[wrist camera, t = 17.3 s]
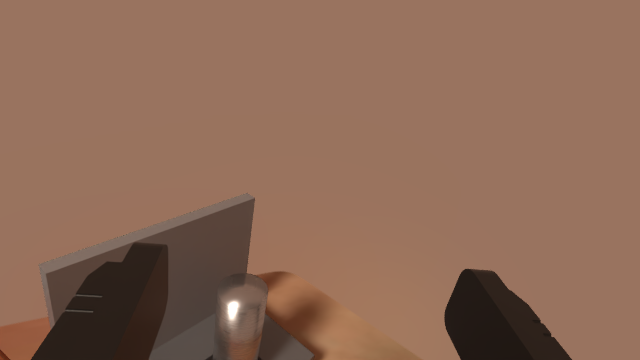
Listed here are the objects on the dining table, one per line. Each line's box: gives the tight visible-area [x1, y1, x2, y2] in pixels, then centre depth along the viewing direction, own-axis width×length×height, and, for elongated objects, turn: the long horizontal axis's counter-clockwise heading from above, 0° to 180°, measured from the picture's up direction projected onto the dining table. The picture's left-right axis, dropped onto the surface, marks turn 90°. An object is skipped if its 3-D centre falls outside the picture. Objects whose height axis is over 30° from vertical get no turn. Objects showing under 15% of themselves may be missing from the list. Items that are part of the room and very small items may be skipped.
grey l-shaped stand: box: [39, 193, 315, 360], centre depth 32 cm, size 12×18×16 cm, turn 140°
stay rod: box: [212, 273, 268, 360], centre depth 33 cm, size 4×4×13 cm
